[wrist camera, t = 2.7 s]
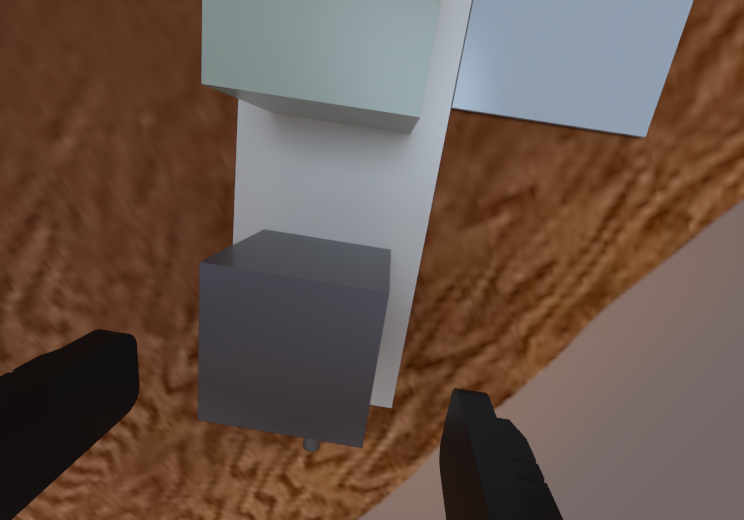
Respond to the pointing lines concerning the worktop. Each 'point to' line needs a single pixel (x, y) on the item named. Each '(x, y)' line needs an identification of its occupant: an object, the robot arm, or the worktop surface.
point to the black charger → (292, 335)
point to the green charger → (323, 57)
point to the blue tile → (569, 61)
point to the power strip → (354, 185)
